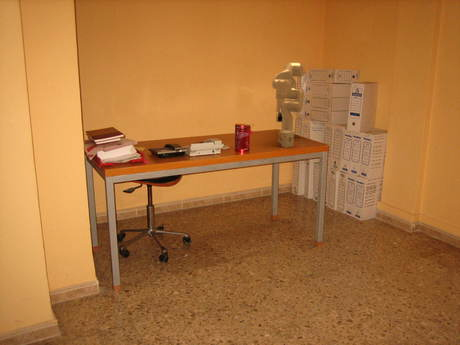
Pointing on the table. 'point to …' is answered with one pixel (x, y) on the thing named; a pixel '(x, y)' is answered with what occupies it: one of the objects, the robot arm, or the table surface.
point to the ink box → (286, 138)
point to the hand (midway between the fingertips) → (279, 120)
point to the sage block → (277, 118)
